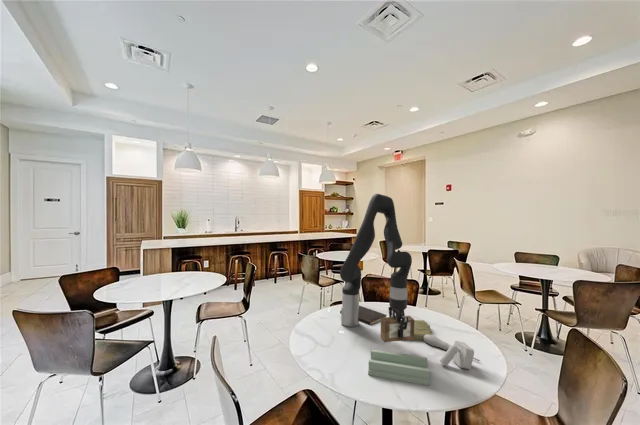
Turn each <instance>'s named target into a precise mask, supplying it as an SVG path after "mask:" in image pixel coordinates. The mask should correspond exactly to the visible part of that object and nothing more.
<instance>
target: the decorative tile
mask: <svg viewBox="0 0 640 425" xmlns="http://www.w3.org/2000/svg"><path fill="white" fill-rule="evenodd" d="M426 334H428V335H433V334H432V333H431V325H430V324H429V323H427V321H426V320H422V319H414V340H413V341H418V342H419V341H420V342H421V341H422V342H425V341H424V336H425V335H426Z"/></svg>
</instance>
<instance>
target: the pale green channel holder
mask: <svg viewBox="0 0 640 425" xmlns="http://www.w3.org/2000/svg"><path fill="white" fill-rule="evenodd" d="M367 371H368V372H367V375H369V376H373V377H378V378H379V377H380V378H383V379H384V378H385V379H391V380H395V381H402V382H406V383H407V382H409V383H412V384H413V383H414V384H419V385H425V386H430V382H431V381H430V368H428V358H427V357H424V356H418V355H417V356H416V355H412V354H411V355H409V354H404V353H397V352H391V351H384V350H378V349H377V350H376V349H371V350H370V359H368V370H367Z"/></svg>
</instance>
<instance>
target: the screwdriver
mask: <svg viewBox="0 0 640 425" xmlns="http://www.w3.org/2000/svg"><path fill="white" fill-rule="evenodd" d="M423 342H425V343H427V345H430V346H432V347H437V348H440V349H443V350H445V351H447V350H448V349H449V347H450V346H451V345H452V344H449V343H448V342H446V341H443V340H442V339H440V338H439V337H437V336H436V335H433V334H432V335H428V334H426V335H425V336H424V341H423ZM473 360H475V361H476V362H477V361H478V362H481V360H480V359H478V358H476V357H474V356H473Z"/></svg>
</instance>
